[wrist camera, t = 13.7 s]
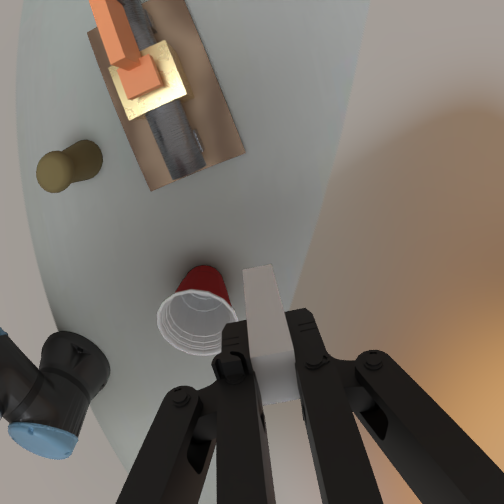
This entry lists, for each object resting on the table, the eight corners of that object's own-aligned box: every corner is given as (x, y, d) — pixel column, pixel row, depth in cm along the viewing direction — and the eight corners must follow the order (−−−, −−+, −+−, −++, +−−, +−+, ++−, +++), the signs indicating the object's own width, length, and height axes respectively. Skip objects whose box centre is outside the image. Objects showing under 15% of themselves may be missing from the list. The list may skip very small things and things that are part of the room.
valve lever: (166, 86, 30) (146, 78, 23) (135, 100, 30) (109, 97, 23) (123, -27, 24) (99, -55, 16) (95, -12, 24) (65, -36, 16)
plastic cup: (156, 268, 50) (138, 311, 39) (216, 238, 48) (213, 276, 37) (192, 319, 54) (184, 368, 43) (249, 293, 52) (254, 341, 41)
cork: (64, 144, 40) (25, 156, 30) (99, 135, 40) (64, 144, 30) (71, 183, 43) (35, 203, 33) (106, 175, 43) (73, 194, 33)
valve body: (170, 175, 42) (158, 188, 35) (110, 25, 33) (87, 11, 25) (218, 155, 42) (215, 164, 34) (156, 3, 32) (142, -17, 25)
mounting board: (153, 189, 44) (150, 191, 43) (90, 34, 34) (86, 32, 33) (245, 151, 43) (245, 153, 42) (180, -9, 33) (178, -12, 31)
